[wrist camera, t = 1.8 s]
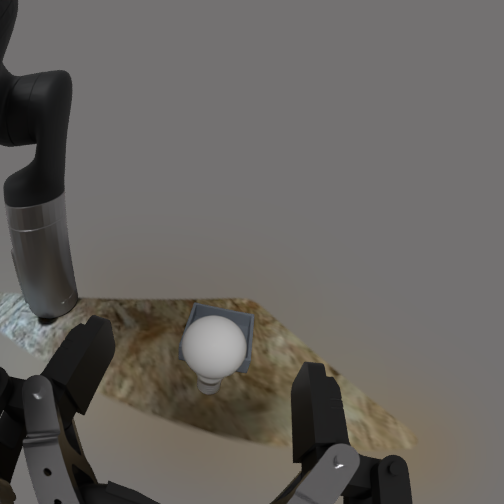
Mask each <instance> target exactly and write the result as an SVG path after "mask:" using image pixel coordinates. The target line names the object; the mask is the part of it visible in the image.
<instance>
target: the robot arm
mask: <svg viewBox="0 0 504 504" xmlns="http://www.w3.org/2000/svg"><path fill="white" fill-rule="evenodd" d="M17 12H18V0H0V145H3V146H8V147H14V146H22V145H30V144H37V147H36V154H35V158H34V160H33V161H32V162H31V163H30V164H29V165H28V166H26V167H25V168H23V169H21V170H19V171H17V172H15V173H14V174H12V175H11V176H9V177H8V178H7V179H6V181H5V183H4V200H5V207H6V215H7V221H8V226H9V232H10V237H11V242H12V246H13V248H12V250H11V254H12V258H13V262H14V266H15V270H16V274H17V277H18V281H19V283H20V287H21V290H22V293H23V296H24V299H25V302H27V303H28V304H29V307H30V309H31V311H32V312H33V313H34V314H35V315H37V316H39V317H42V318H55V317H58V316H61V315H63V314H65V313H67V312H68V311H70V310H71V309H72V308H73V307H74V305H75V304H76V302H77V299H78V293H77V288H76V283H75V277H74V271H73V266H72V261H71V253H70V246H69V238H68V229H67V219H66V209H65V208H66V207H65V190H64V189H65V188H64V174H65V153H66V139H67V129H68V122H69V115H70V108H71V101H72V81H71V77H70V75H69V73H67V72H66V71H63V70H57V71H48V72H41V73H36V74H30V75H25V76H14V75H12V74H11V73H10V72H8V70H7V69H6V68H5V66H4V65H3V63H2V61H3V57H4V54H5V51H6V49H7V46H8V43H9V40H10V37H11V34H12V31H13V28H14V24H15V21H16V17H17ZM114 352H115V341H114V336H113V332H112V327H111V322H110V320H108V319H105V318H102V317H99V316H96V315H92V316H91V317H90V318H89V320H88V321H87V323H86V324H85V325H84V324H82V323H80V324H79V325H77V326H76V327H74V328H73V329H71V331H70V332H69V334H68V335H67V336H66V338H65V340H64V341H63V342H62V344H61V345H60V347H59V348H58V349H57V351H56V352H55V354H54V355H53V357H52V358H51V360H50V361H49V363H48V364H47V366H46V368H45V369H44V371H43V372H42V373H41V374H40V375H34V376H31V377H29V378H28V379H27V380H24V379H19V378H14V377H10V376H8V374H7V373H6V371H5V370H4V369H3V368H1V367H0V416H1V414H2V412H3V410H4V412H3V414H2V416H1V418H0V504H14V501H15V500H16V495H15V493H14V492H13V489H12V487H11V485H10V483H11V479H12V476H13V472H14V469H15V466H16V463H17V460H18V458H19V455H20V452H21V449H22V446H23V448H24V453H25V458H26V462H27V466H28V470H29V474H30V477H31V481H32V484H33V488H34V491H35V494H36V497H37V500H38V503H39V504H160V503H158V502H156V501H154V500H152V499H150V498H148V497H146V496H144V495H143V494H141V493H139V492H137V491H135V490H132V489H129V488H127V487H124V486H121V485H118V484H116V483H113V482H111V481H108V484H100V483H98V482H97V479H96V477H95V474H94V472H93V470H92V468H91V466H90V464H89V463H88V461H87V459H86V457H85V455H84V452H83V449H82V446H81V442H80V439H79V436H78V432H77V429H76V425H75V421H74V418H73V417H74V415H75V413H76V412H78V413H80V414H82V415H85V413H86V411H87V408H88V406H89V404H90V402H91V400H92V398H93V396H94V394H95V392H96V390H97V388H98V386H99V384H100V382H101V380H102V378H103V376H104V374H105V372H106V370H107V368H108V366H109V364H110V362H111V360H112V358H113V356H114ZM341 398H342V397H341V392H340V387H339V385H338V384H337V382H336V381H335V379H334V378H333V377H326V372H325V367H324V364H322V363H313V362H304V363H303V365H302V367H301V369H300V371H299V373H298V375H297V376H296V378H295V380H294V382H293V385H292V389H291V412H292V442H293V463H301V464H302V470H301V471H300V472H299V473H298V475H297V476H296V477H295V478H294V479H293V480H292V481H291V482H290V484H289V485H288V486H287V487H286V488H285V489H284V490H283V491H282V492H281V493H280V494H279V495H278V497H276V499H275V500H274V501H272V502H271V503H270V504H334V503H335V501H336V500H337V499H338V497H339V496H343V499H344V500H343V504H412V496H411V487H410V479H409V473H408V467H407V464H406V462H405V460H404V459H403V458H401V457H400V456H397V455H389V456H387V457H385V458H384V459H382V460H381V459H376V458H371V457H367V456H363V455H360V454H358V453H357V451H356V450H355V449H354V448H353V447H351V445H350V443H349V439H348V432H347V426H346V420H345V414H344V409H343V403H342V400H341ZM26 436H27V437H26Z"/></svg>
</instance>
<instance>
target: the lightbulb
mask: <svg viewBox="0 0 504 504" xmlns="http://www.w3.org/2000/svg"><path fill="white" fill-rule="evenodd" d="M246 351H247V344H246V339H245V336H244V334H243V332H242V330H241V329H240V328H239V327H238V325H237V324H235V323H234V322H233V321H231V320H230V319H228V318H225V317H222V316H217V315H210V316H205V317H202V318H199V319H197V320H196V321H194V322H193V323H192V324H191V325H190V326H189V327H188V328H187V330H186V332H185V334H184V336H183V340H182V353H183V356H184V359H185V361H186V363H187V364H188V366H189V367H190V368H191V369H192V370H193V371H194V372H195V373H196V374H197V376H198V379H197V387H198V389H199V390H200V391H201V392H202V393H204V394H214V393H216V392H217V391H218V390H219V388H220V384H221V380H222V379H223V378H224V377H227V376H229V375H231V374H233V373H234V372H235V371H237V370H238V369H239V367H240V366H241V365H242V363H243V361H244V359H245V356H246Z"/></svg>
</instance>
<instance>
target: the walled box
mask: <svg viewBox="0 0 504 504" xmlns="http://www.w3.org/2000/svg"><path fill="white" fill-rule="evenodd" d="M210 315H217V316H222V317H225V318H228V319H230V320H231V321H233V322H234V323H235V324H237V325H238V327H239V328H240V329H241V330H242V332H243V334H244V336H245V339H246V344H247V351H246V356H245V359H244V361H243V363H242V365H241V366H240V367H239V369H238V370H237V372H243V373H247V370H248V367H249V364H250V361H251V349H252V337H253V325H254V314H248V313H243V312H238V311H233V310H228V309H223V308H218V307H213V306H208V305H204V304H199V303H194V305H193V308H192V311H191V313H190V316H189V319H188V322H187V325H186V327H185V330H184V333H183V336H184V334H185V332H186V330H187V328H188V327H189V326H190V325H191V324H192V323H193V322H194V321H196V320H197V319H199V318H202V317H205V316H210ZM183 336H182V339H181V342H180V344H179V359H180V360H184V361H185V359H184V356H183V353H182V340H183Z"/></svg>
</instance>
